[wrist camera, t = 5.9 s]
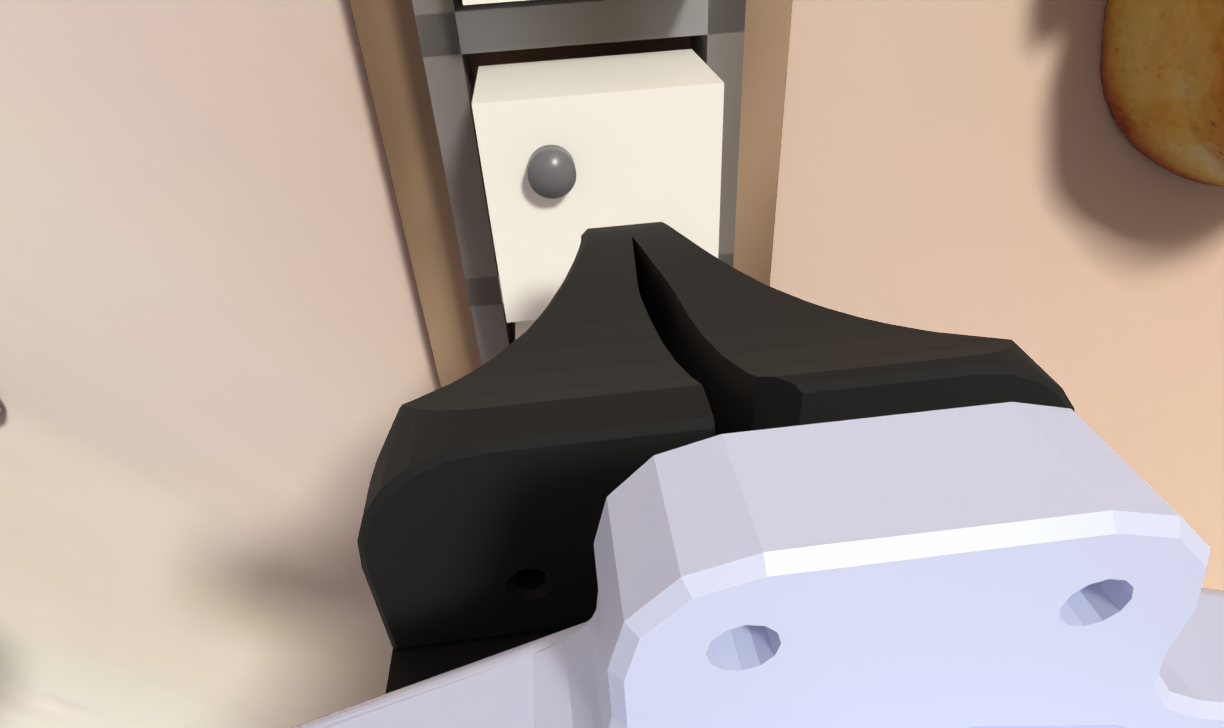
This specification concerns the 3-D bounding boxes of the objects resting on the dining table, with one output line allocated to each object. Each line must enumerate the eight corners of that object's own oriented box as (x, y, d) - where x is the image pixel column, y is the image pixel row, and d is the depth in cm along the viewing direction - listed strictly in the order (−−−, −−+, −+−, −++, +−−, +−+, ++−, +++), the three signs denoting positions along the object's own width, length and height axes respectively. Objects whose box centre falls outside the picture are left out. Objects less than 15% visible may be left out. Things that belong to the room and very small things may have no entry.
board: (462, 450, 25) (456, 510, 22) (256, -449, 13) (198, -518, 10) (749, 418, 25) (772, 473, 23) (813, -470, 13) (874, -540, 11)
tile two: (508, 260, 18) (506, 332, 15) (478, 65, 15) (470, 110, 13) (689, 243, 18) (721, 310, 15) (691, 48, 16) (729, 87, 13)
